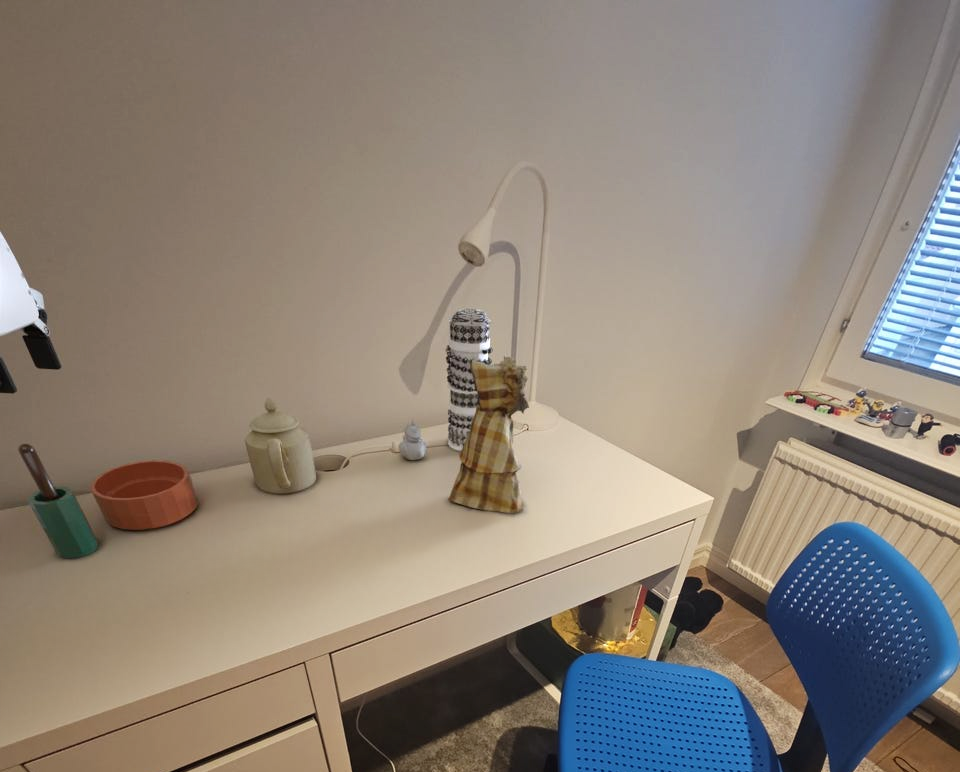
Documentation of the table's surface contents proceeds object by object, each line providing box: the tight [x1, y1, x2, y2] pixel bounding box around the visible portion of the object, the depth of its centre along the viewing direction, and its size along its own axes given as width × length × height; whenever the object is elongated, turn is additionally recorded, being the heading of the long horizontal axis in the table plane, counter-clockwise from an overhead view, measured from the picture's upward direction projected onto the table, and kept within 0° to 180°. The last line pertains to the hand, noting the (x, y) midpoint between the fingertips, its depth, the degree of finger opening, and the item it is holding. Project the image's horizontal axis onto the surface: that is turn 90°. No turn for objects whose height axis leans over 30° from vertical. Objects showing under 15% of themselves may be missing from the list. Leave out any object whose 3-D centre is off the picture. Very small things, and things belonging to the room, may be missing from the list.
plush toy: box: [447, 355, 530, 514], centre depth 94 cm, size 14×14×25 cm
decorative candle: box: [445, 308, 494, 452], centre depth 112 cm, size 9×9×25 cm
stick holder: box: [27, 486, 99, 560], centre depth 82 cm, size 5×5×9 cm
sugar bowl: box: [244, 397, 317, 495], centre depth 98 cm, size 15×11×15 cm
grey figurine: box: [398, 419, 427, 461], centre depth 111 cm, size 5×7×8 cm
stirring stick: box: [17, 443, 60, 502], centre depth 80 cm, size 2×2×16 cm
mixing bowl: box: [89, 459, 199, 531], centre depth 92 cm, size 14×14×6 cm
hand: (27, 379), depth 72 cm, fingers open, 9 cm apart
